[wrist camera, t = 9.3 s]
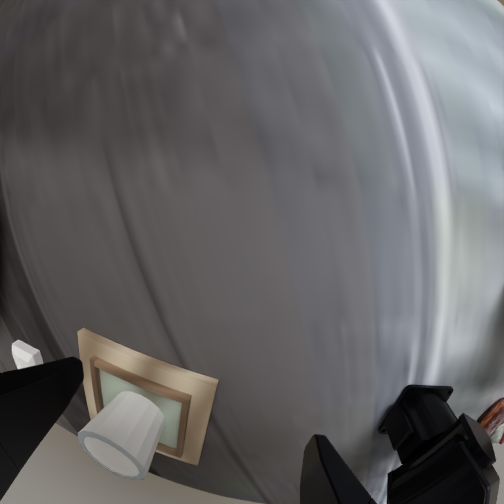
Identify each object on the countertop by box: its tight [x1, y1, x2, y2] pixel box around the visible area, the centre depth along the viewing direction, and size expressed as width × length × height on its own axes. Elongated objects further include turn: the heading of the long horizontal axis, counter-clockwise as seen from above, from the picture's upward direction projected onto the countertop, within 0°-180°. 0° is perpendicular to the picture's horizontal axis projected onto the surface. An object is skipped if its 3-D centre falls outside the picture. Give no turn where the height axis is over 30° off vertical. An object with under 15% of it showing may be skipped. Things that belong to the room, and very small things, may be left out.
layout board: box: [78, 328, 219, 466], centre depth 23 cm, size 14×14×2 cm
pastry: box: [477, 398, 504, 444], centre depth 18 cm, size 8×8×5 cm
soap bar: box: [12, 340, 44, 369], centre depth 25 cm, size 5×9×3 cm, turn 175°
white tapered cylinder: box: [78, 392, 165, 480], centre depth 19 cm, size 7×7×7 cm
